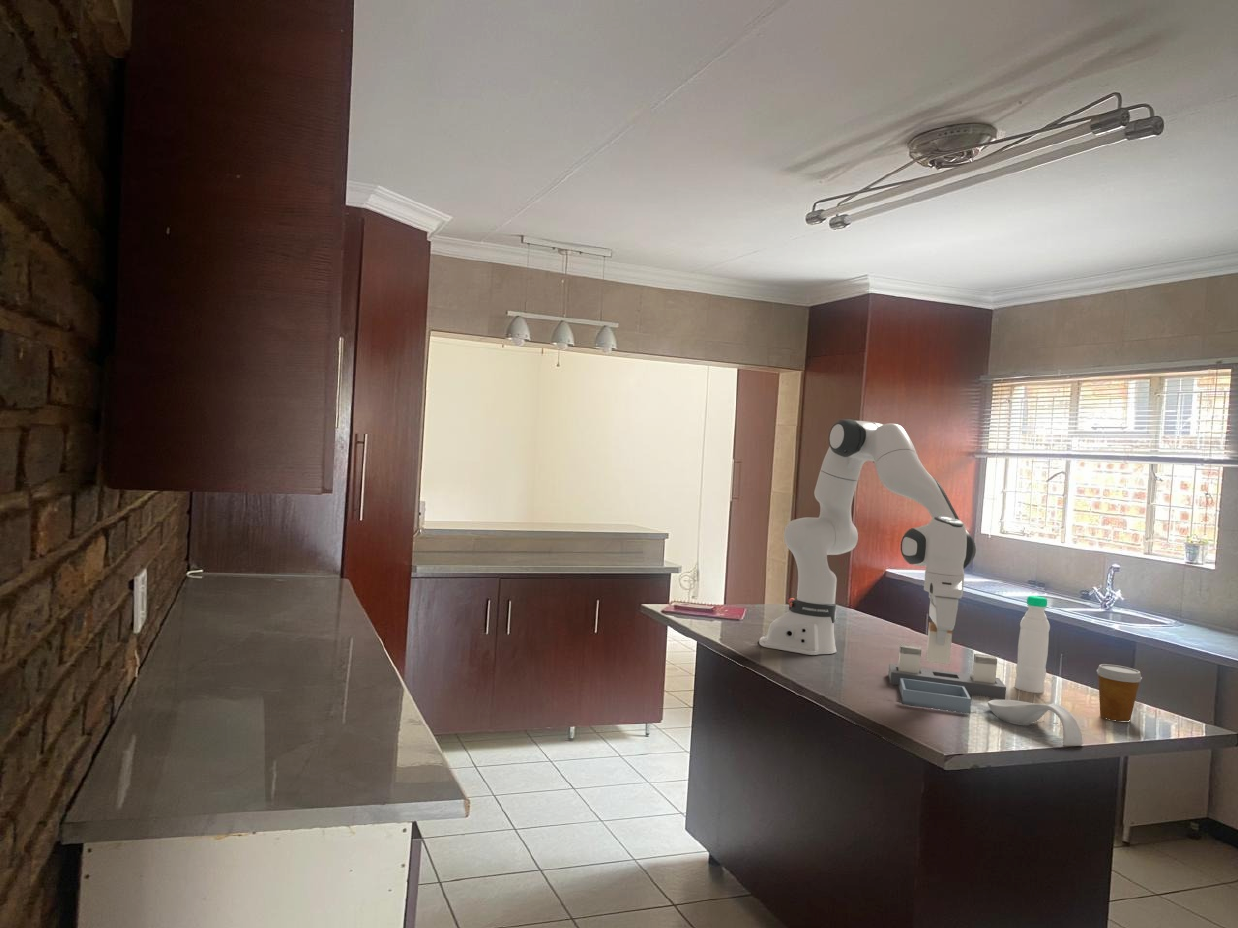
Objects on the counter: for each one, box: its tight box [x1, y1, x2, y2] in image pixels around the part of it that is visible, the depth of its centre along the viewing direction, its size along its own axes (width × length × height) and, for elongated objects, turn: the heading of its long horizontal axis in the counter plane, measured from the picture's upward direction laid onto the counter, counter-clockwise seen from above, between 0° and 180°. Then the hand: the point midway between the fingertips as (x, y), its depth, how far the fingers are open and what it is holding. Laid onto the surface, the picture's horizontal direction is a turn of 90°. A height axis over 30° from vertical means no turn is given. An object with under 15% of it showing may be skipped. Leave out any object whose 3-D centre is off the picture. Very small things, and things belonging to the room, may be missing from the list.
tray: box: [898, 678, 972, 714], centre depth 215 cm, size 15×12×4 cm
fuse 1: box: [897, 644, 922, 673], centre depth 230 cm, size 5×4×9 cm
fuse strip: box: [888, 663, 1007, 700], centre depth 228 cm, size 27×10×4 cm, turn 76°
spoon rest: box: [987, 699, 1083, 747], centre depth 200 cm, size 24×12×7 cm, turn 17°
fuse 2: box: [972, 653, 998, 683], centre depth 226 cm, size 5×4×9 cm
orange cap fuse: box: [925, 621, 953, 666], centre depth 215 cm, size 5×4×9 cm
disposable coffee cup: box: [1096, 663, 1143, 721], centre depth 214 cm, size 10×10×12 cm
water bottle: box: [1014, 595, 1051, 694], centre depth 233 cm, size 7×7×25 cm
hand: (938, 642), depth 215 cm, fingers closed on orange cap fuse, 3 cm apart
